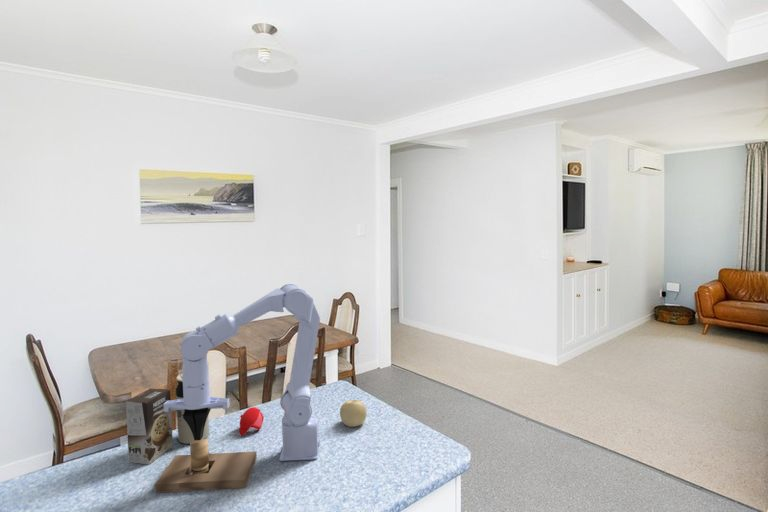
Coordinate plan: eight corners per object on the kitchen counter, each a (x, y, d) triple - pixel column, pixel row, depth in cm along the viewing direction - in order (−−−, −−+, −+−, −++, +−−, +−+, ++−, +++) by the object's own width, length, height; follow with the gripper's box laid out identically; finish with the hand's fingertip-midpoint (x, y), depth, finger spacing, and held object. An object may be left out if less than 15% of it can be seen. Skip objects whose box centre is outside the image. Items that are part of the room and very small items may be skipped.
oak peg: (212, 469, 107) (210, 438, 106) (206, 479, 103) (204, 447, 102) (195, 470, 107) (193, 439, 106) (189, 480, 103) (187, 447, 102)
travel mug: (208, 428, 128) (205, 368, 127) (210, 440, 121) (207, 377, 120) (178, 434, 125) (175, 373, 123) (178, 447, 118) (175, 382, 116)
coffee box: (150, 465, 109) (146, 402, 108) (127, 462, 111) (124, 400, 109) (174, 446, 118) (171, 388, 117) (153, 444, 120) (150, 387, 118)
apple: (354, 432, 125) (341, 408, 125) (344, 432, 131) (331, 409, 132) (375, 416, 129) (362, 393, 130) (364, 417, 136) (351, 395, 136)
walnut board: (256, 458, 112) (256, 451, 112) (245, 487, 100) (245, 479, 100) (175, 463, 110) (175, 455, 110) (155, 492, 98) (154, 484, 98)
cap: (252, 410, 133) (237, 406, 128) (266, 407, 130) (251, 403, 126) (248, 438, 128) (232, 435, 124) (263, 436, 126) (247, 432, 121)
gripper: (232, 375, 107) (234, 428, 109) (171, 377, 106) (173, 431, 107) (224, 386, 100) (226, 443, 102) (158, 389, 99) (161, 446, 100)
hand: (198, 438), depth 104 cm, fingers closed
